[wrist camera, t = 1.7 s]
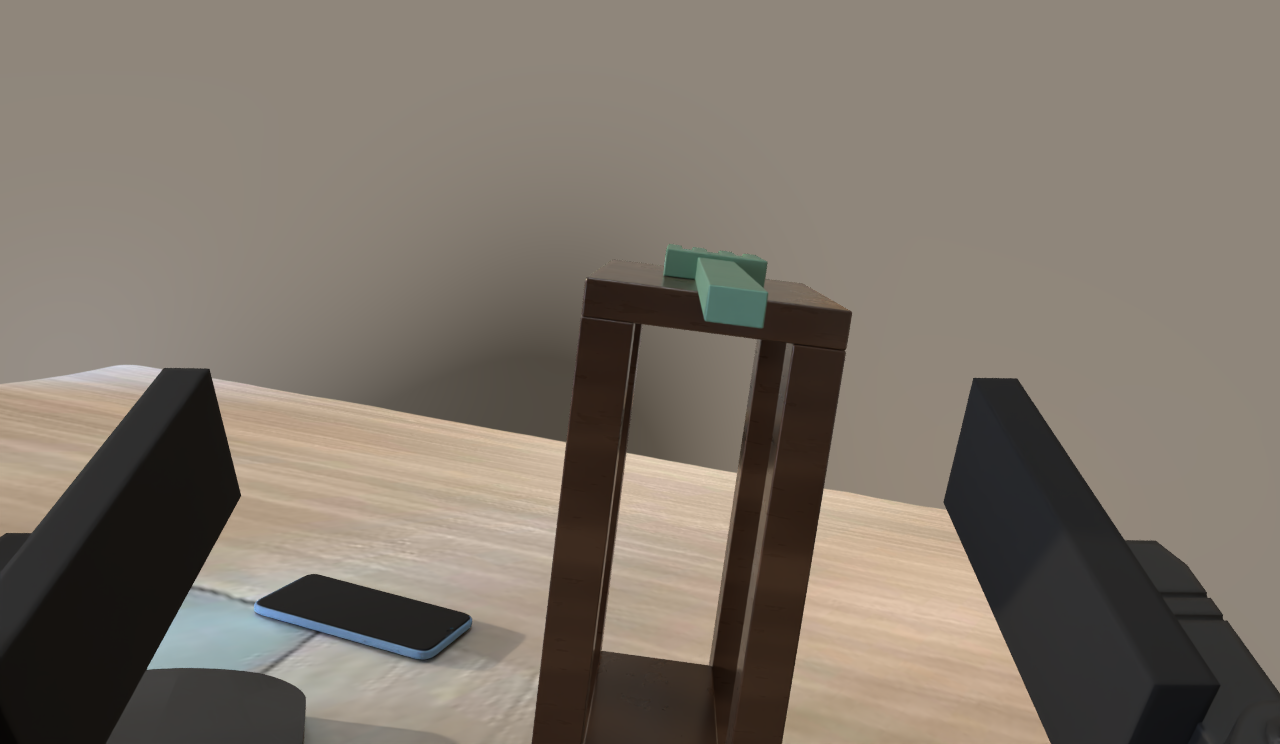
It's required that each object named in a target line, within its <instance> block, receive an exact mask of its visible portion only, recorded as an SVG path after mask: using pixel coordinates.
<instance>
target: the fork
mask: <svg viewBox="0 0 1280 744" xmlns="http://www.w3.org/2000/svg"><path fill="white" fill-rule="evenodd" d="M766 269H767V261H765V260H763V259H761V258H759V257H758V256H756V255H750V254H743V256H736V255H734V254H733V253H732V252H727V251H719V252H718V253H712V252H707V250H706V249H703V248H695V247H693V248H692V250H687V249H682V246H679V245H672V244H669V245H668V247H667V250H666V256H665V264H664V272H663V275H664V276H668V277H676V278H683V279H691V280H696V285H697V289H698V294H699V298H700V303H701V307H702V311H703V316H704V320H705V321H706V322H714V323H722V324H730V325H737V326H745V327H753V328H761V329H762V328H763V327H764V321H765V314H766V307H767V300H768V292H767V291H766V290H765V289H764V283H765V276H766Z"/></svg>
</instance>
